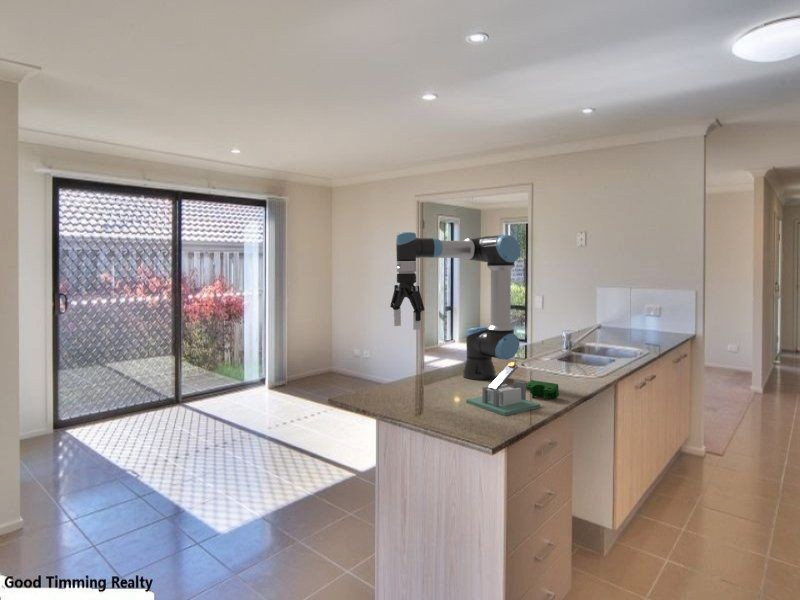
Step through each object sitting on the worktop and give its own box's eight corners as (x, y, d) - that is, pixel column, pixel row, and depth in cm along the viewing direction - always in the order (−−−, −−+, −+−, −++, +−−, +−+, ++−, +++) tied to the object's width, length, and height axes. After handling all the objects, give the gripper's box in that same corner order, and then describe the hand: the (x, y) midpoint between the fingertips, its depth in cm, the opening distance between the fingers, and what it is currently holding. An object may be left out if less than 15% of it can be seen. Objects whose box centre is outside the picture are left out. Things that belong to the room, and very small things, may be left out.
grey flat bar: (510, 364, 190) (509, 361, 189) (518, 366, 187) (517, 363, 186) (489, 388, 185) (487, 385, 184) (496, 390, 181) (494, 387, 181)
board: (501, 395, 199) (502, 376, 199) (540, 407, 183) (541, 386, 182) (466, 402, 190) (466, 383, 189) (504, 415, 173) (504, 394, 172)
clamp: (531, 407, 198) (521, 387, 198) (538, 401, 202) (527, 380, 202) (557, 401, 189) (546, 380, 189) (563, 394, 193) (552, 373, 194)
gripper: (381, 272, 201) (382, 325, 203) (416, 273, 180) (417, 331, 182) (397, 272, 205) (397, 323, 207) (433, 272, 184) (433, 330, 186)
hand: (406, 327), depth 194 cm, fingers open, 13 cm apart
